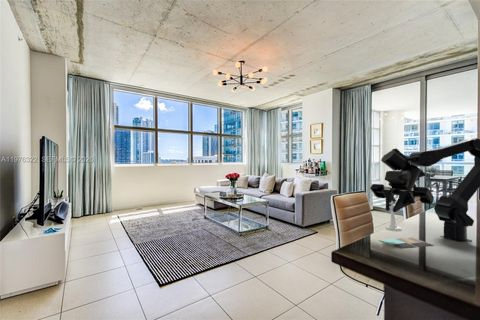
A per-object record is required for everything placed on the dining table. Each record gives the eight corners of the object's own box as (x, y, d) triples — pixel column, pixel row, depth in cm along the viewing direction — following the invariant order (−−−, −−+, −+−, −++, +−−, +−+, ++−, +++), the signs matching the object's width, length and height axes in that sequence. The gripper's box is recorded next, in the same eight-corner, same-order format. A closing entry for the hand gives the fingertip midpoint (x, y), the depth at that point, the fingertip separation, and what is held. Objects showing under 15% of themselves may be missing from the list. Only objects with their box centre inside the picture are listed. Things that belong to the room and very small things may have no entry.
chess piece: (404, 231, 76) (403, 202, 76) (388, 231, 77) (387, 202, 77) (397, 228, 80) (396, 200, 81) (382, 227, 81) (381, 200, 82)
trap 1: (407, 244, 76) (407, 243, 76) (415, 247, 74) (415, 246, 74) (392, 245, 75) (392, 244, 75) (400, 248, 72) (400, 247, 72)
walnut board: (412, 239, 83) (411, 237, 83) (436, 247, 75) (436, 245, 75) (377, 241, 80) (377, 240, 80) (399, 250, 72) (399, 248, 72)
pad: (394, 239, 82) (394, 238, 82) (406, 243, 77) (406, 242, 77) (379, 240, 80) (379, 239, 80) (390, 244, 76) (390, 244, 76)
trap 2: (424, 242, 78) (424, 242, 78) (433, 245, 75) (433, 244, 75) (410, 243, 77) (410, 243, 77) (418, 246, 74) (418, 246, 74)
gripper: (372, 163, 89) (354, 192, 84) (428, 162, 73) (411, 199, 68) (384, 182, 93) (368, 211, 88) (440, 185, 76) (425, 222, 71)
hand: (390, 210), depth 78 cm, fingers closed on chess piece
